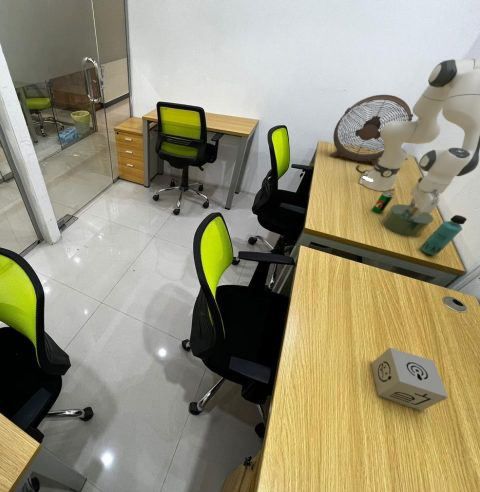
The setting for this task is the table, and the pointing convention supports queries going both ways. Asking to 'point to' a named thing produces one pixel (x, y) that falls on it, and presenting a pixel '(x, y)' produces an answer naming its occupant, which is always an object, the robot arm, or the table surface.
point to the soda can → (382, 202)
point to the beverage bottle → (443, 235)
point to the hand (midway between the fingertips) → (413, 211)
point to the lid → (410, 214)
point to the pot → (402, 225)
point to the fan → (368, 128)
